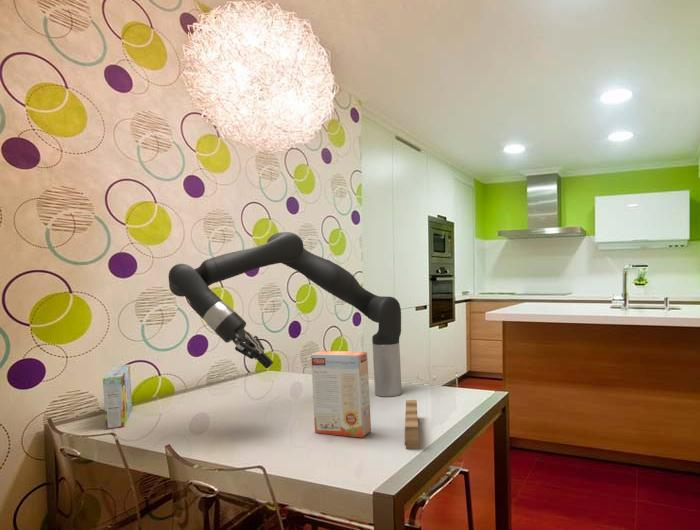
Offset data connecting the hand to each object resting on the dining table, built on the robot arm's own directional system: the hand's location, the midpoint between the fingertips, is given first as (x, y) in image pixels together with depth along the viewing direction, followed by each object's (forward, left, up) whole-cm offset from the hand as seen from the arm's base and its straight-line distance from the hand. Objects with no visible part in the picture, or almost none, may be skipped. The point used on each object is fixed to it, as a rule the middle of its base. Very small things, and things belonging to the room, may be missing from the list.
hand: (270, 365), depth 126 cm
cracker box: (0, +19, -18) cm, 26 cm away
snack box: (-14, -53, -18) cm, 58 cm away
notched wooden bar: (0, +37, -18) cm, 41 cm away
